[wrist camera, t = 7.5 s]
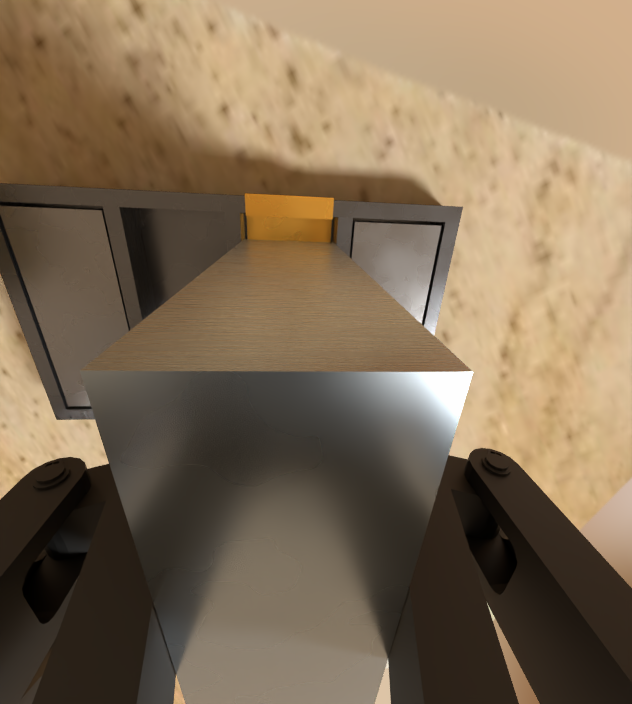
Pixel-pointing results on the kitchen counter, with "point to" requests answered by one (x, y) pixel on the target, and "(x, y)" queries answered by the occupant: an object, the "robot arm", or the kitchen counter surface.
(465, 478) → the robot arm
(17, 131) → the kitchen counter surface
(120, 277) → the rack
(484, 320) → the kitchen counter surface
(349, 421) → the panel
